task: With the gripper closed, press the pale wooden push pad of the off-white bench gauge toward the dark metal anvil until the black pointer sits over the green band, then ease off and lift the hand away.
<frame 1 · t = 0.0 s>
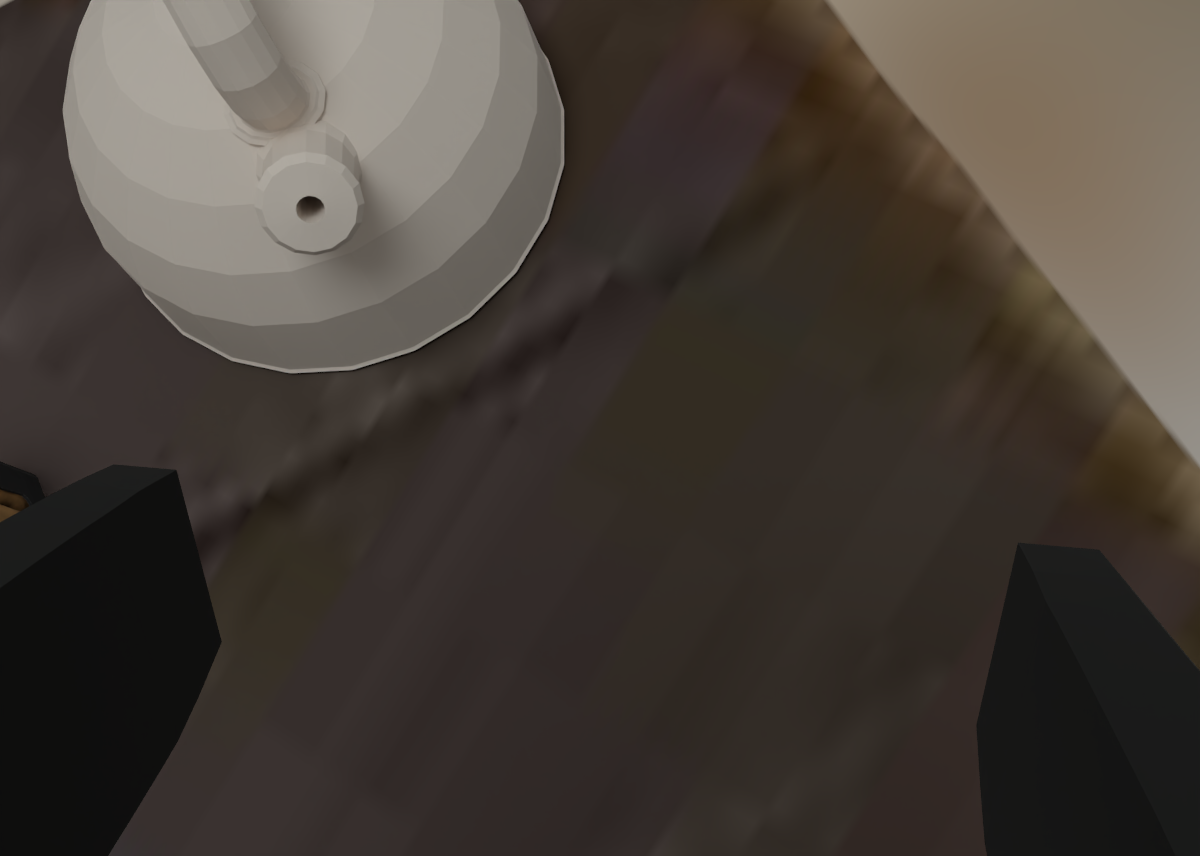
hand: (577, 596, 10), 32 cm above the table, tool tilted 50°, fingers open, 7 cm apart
kettle: (340, 163, 50), on the table
ammunition clip: (59, 598, 45), on the table
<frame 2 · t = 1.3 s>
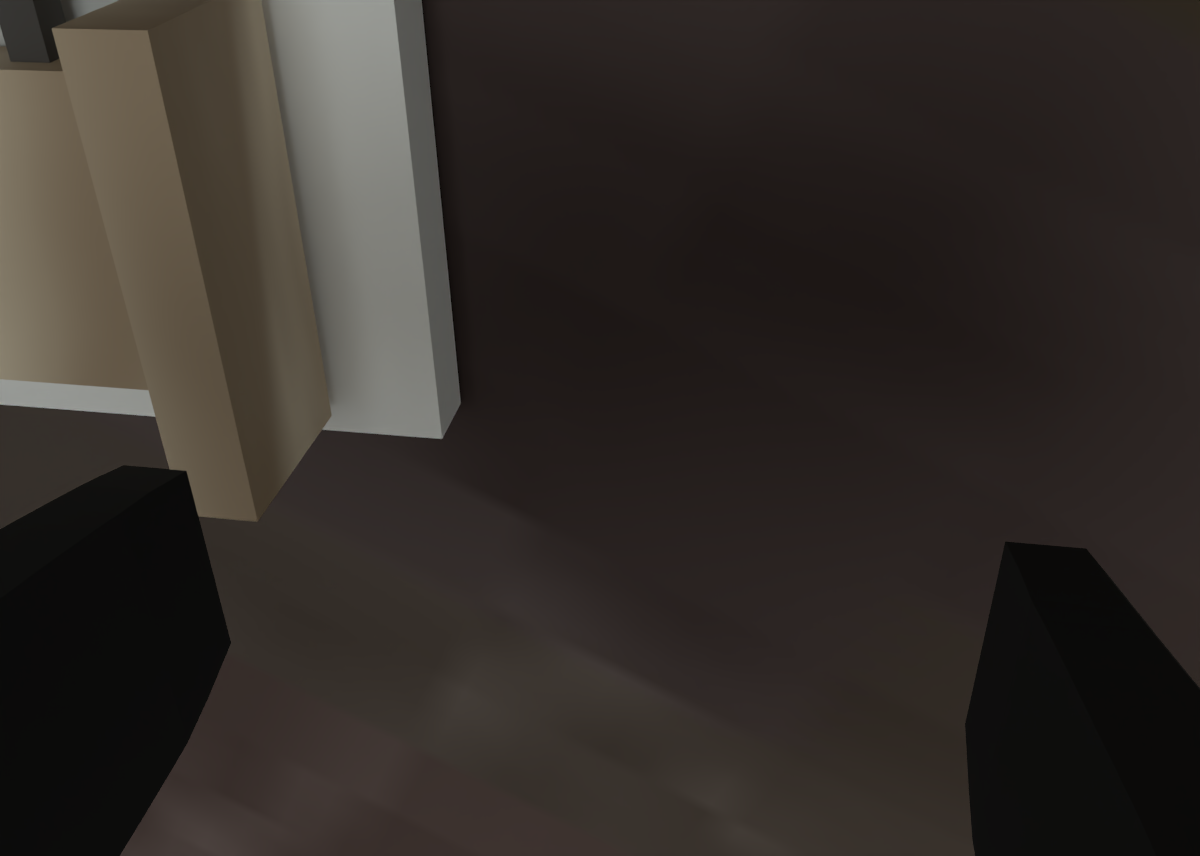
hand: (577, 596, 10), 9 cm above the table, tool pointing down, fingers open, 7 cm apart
gauge carriage: (70, 185, 16), point 3 cm above the table, slide at 0.0 cm
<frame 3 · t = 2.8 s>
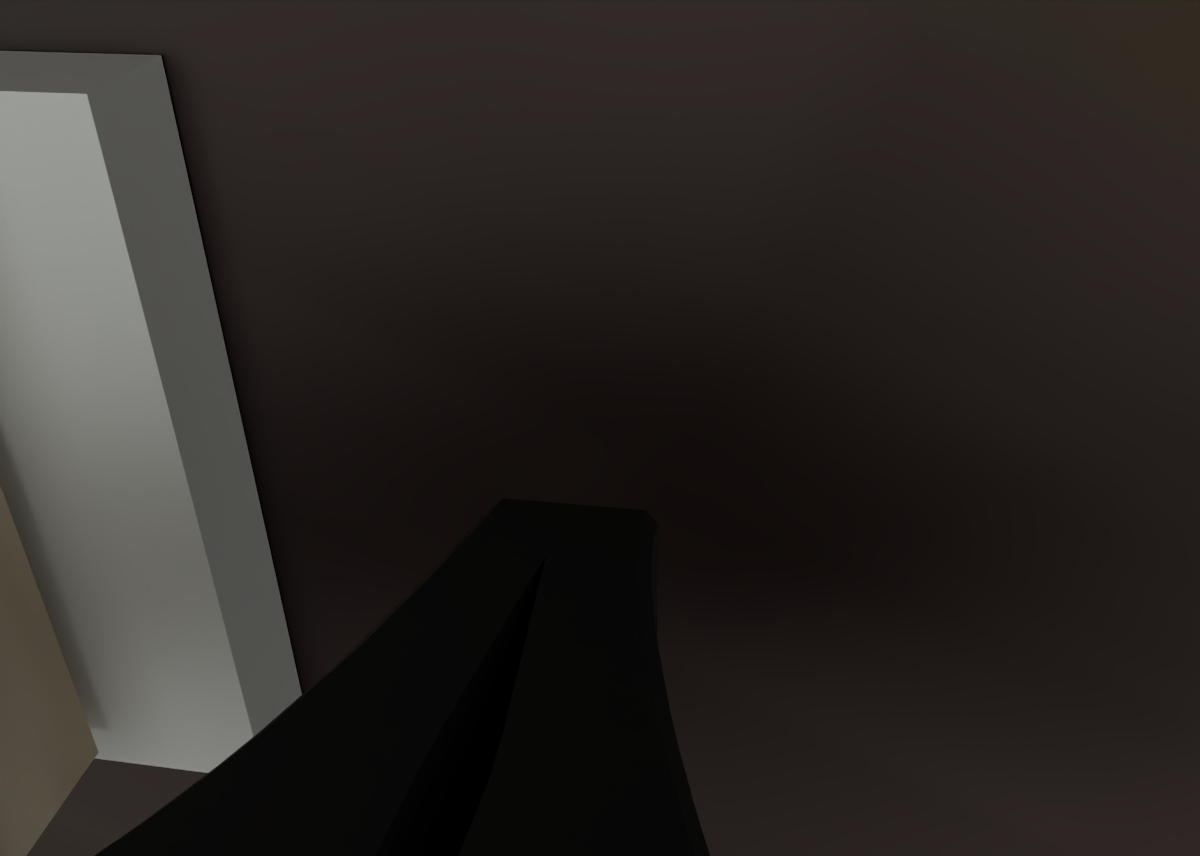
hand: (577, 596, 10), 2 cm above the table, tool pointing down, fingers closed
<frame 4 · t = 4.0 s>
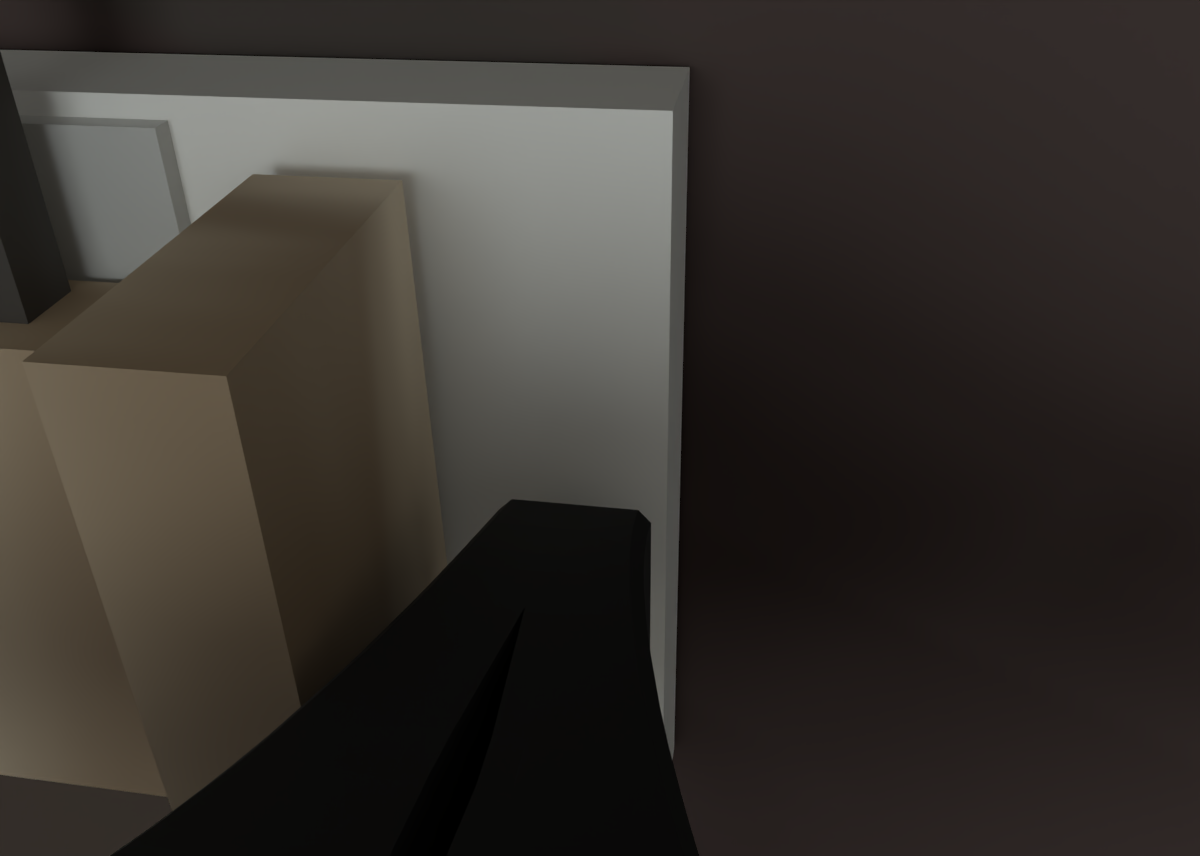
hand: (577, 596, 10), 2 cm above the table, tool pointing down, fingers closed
gauge carriage: (65, 534, 9), point 3 cm above the table, slide at 0.2 cm, touching gripper
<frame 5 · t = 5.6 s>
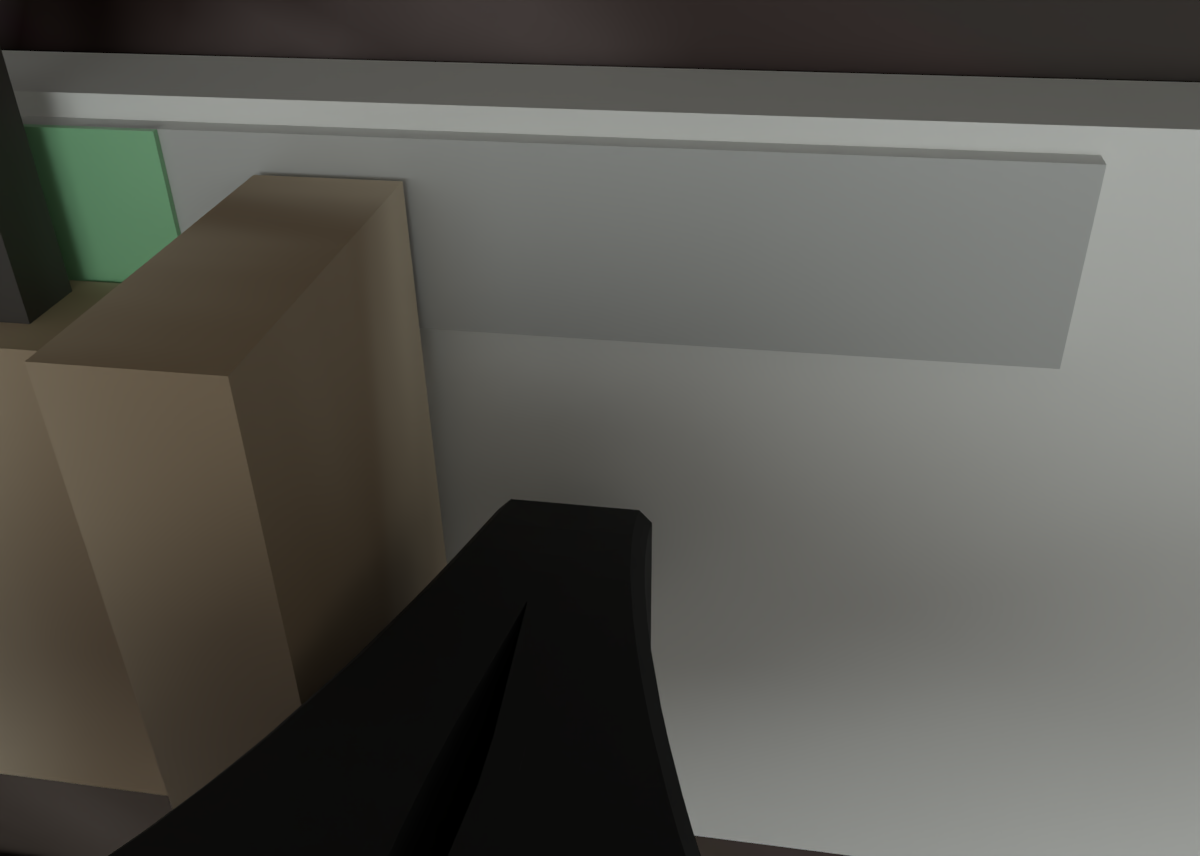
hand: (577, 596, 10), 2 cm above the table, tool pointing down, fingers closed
gauge carriage: (66, 533, 9), point 3 cm above the table, slide at 7.2 cm, touching gripper
gauge base: (394, 449, 12), on the table
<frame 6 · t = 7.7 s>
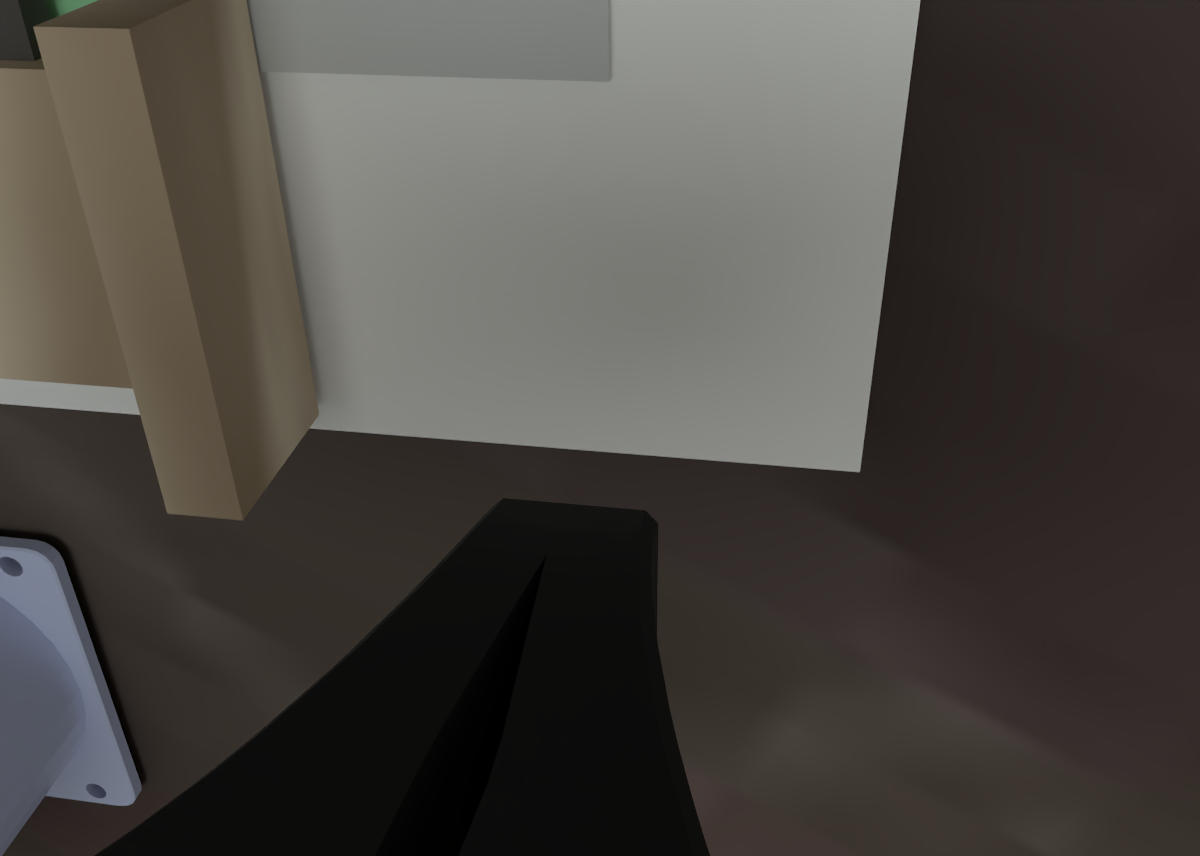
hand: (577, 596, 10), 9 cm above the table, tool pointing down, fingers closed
gauge carriage: (55, 183, 16), point 3 cm above the table, slide at 7.2 cm
gauge base: (265, 182, 19), on the table
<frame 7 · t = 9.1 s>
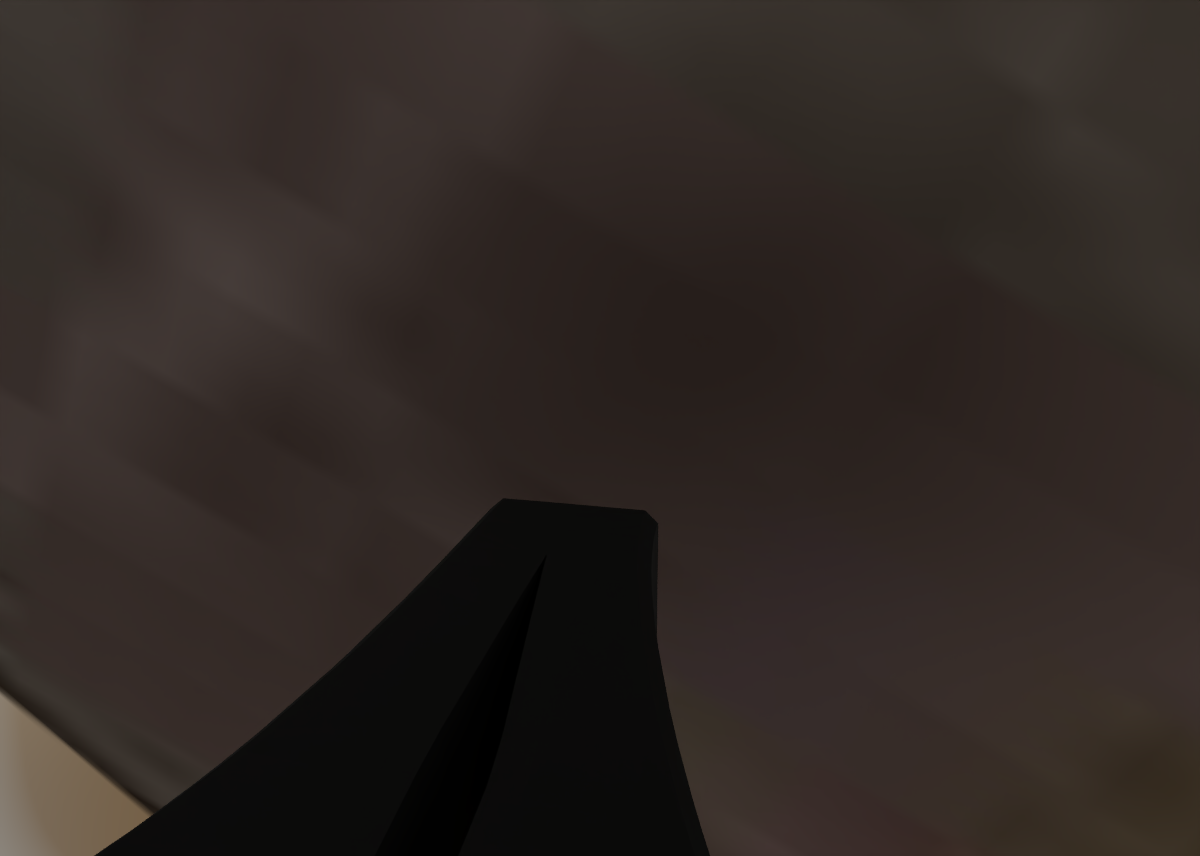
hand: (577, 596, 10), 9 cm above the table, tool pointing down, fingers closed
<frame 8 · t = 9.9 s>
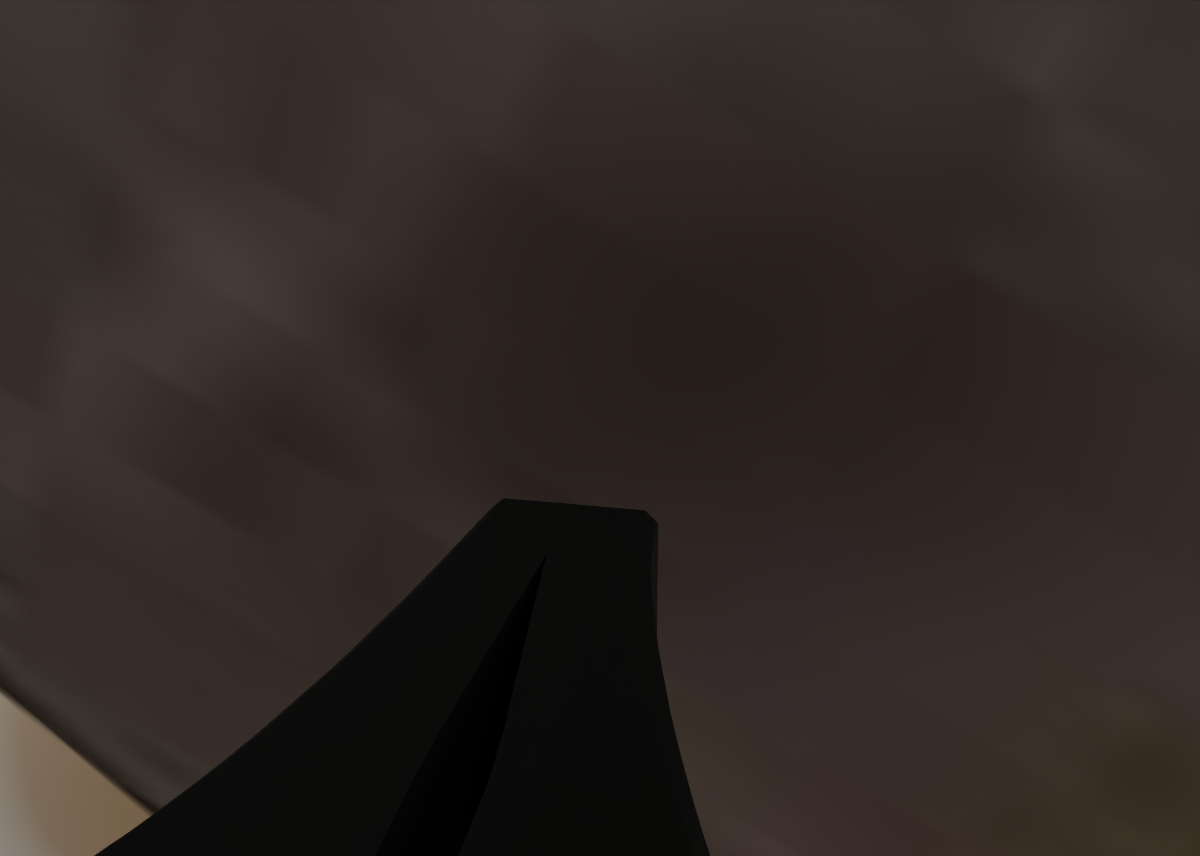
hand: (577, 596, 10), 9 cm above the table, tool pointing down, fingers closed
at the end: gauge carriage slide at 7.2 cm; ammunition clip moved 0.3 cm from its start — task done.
